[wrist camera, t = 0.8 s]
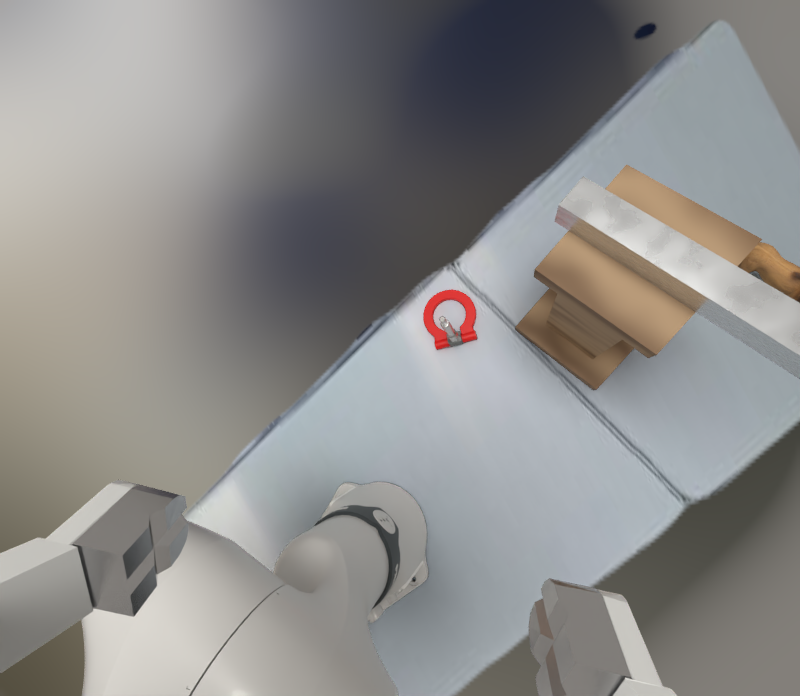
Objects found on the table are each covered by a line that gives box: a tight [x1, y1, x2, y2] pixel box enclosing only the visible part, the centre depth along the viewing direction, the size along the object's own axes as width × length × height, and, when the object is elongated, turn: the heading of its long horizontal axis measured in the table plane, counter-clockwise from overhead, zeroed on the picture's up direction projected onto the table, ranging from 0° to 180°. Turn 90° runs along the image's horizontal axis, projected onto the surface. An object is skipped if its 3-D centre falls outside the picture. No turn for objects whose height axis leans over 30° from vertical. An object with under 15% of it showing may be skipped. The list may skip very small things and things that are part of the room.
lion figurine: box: [737, 242, 800, 303], centre depth 48 cm, size 15×5×9 cm, turn 55°
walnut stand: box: [515, 165, 762, 390], centre depth 45 cm, size 14×14×26 cm
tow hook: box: [424, 290, 477, 350], centre depth 57 cm, size 8×13×9 cm
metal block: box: [555, 177, 800, 379], centre depth 30 cm, size 3×22×3 cm, turn 47°
